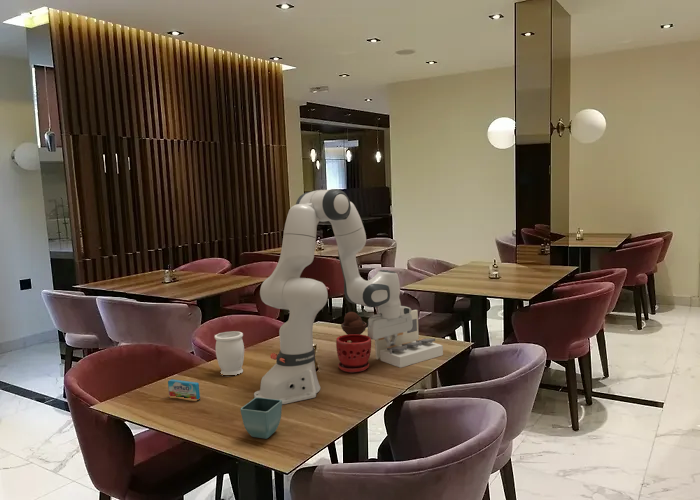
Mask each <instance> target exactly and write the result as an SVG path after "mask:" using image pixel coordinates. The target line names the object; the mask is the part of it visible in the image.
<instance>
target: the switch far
mask: <svg viewBox="0 0 700 500" xmlns="http://www.w3.org/2000/svg"><path fill="white" fill-rule="evenodd" d="M419 341H421V343H429V342H433V343H434V342H436V339H435V338H432V339H430V338H425V337H423V338H419V339H418V340H416V342H419Z"/></svg>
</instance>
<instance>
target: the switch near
mask: <svg viewBox="0 0 700 500" xmlns="http://www.w3.org/2000/svg"><path fill="white" fill-rule="evenodd" d="M390 349H392V351H401V350H405V349H407V347H402V346H391V347H387V350H390Z"/></svg>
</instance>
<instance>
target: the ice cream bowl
mask: <svg viewBox="0 0 700 500" xmlns="http://www.w3.org/2000/svg"><path fill="white" fill-rule="evenodd" d="M343 320H344V321H343V323H341V324H340V326H341V327H340V328H341V329H342V331H343V332H344V333H345V335H349V334H360V335H363V333H364V332H365V331H366V329H367V327H368V322H365V321H363V319H362V317H361V316H360V315H358V314H357V312H354V311H349V312H346V314H345V315H344V318H343ZM350 343H352V341H350ZM355 343H357V342H355Z"/></svg>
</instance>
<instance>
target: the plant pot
mask: <svg viewBox="0 0 700 500" xmlns="http://www.w3.org/2000/svg"><path fill="white" fill-rule="evenodd" d="M335 339H336V340H335V343H336V344H335V345H336V354H337V358H338V360H339V363H338V364H337V365H338V368H339V369H340V370H341V371H343V372H346V373H360V372H364V371H366V370H367V369H368V368H369V366H370V363H369V360H370V357H371V354H372V353H371V352H372V339H371V338H370V337H368V335H366V334H349V335H347V334H343V335H340V336H337V337H336V338H335ZM349 341H350V342H349ZM351 342H352V343H351ZM355 342H357V343H355Z"/></svg>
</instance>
